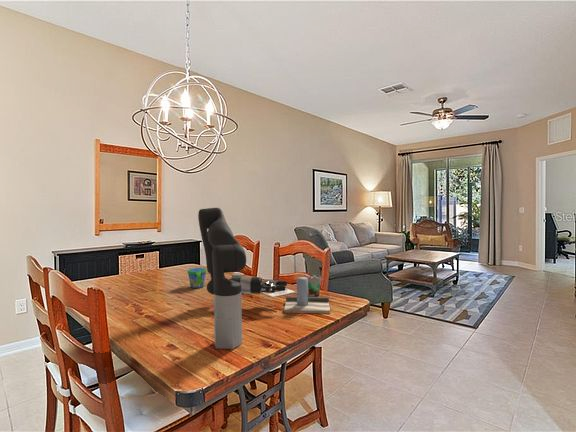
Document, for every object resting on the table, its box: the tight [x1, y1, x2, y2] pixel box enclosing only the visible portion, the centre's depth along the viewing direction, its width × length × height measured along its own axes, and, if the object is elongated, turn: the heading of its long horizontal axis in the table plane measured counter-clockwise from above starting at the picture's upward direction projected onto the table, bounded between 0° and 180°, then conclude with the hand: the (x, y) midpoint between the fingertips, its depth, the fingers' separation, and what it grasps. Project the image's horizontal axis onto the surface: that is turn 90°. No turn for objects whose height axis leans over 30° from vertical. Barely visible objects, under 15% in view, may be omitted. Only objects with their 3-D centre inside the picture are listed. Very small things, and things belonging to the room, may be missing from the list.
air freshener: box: [231, 272, 244, 278], centre depth 168 cm, size 11×8×10 cm
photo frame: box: [261, 287, 296, 298], centre depth 169 cm, size 15×1×18 cm
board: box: [283, 296, 331, 314], centre depth 141 cm, size 14×20×3 cm
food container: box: [307, 273, 322, 297], centre depth 161 cm, size 12×6×10 cm, turn 168°
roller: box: [296, 276, 308, 306], centre depth 142 cm, size 5×5×12 cm
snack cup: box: [187, 267, 207, 289], centre depth 180 cm, size 16×10×10 cm
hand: (286, 285), depth 142 cm, fingers open, 8 cm apart
